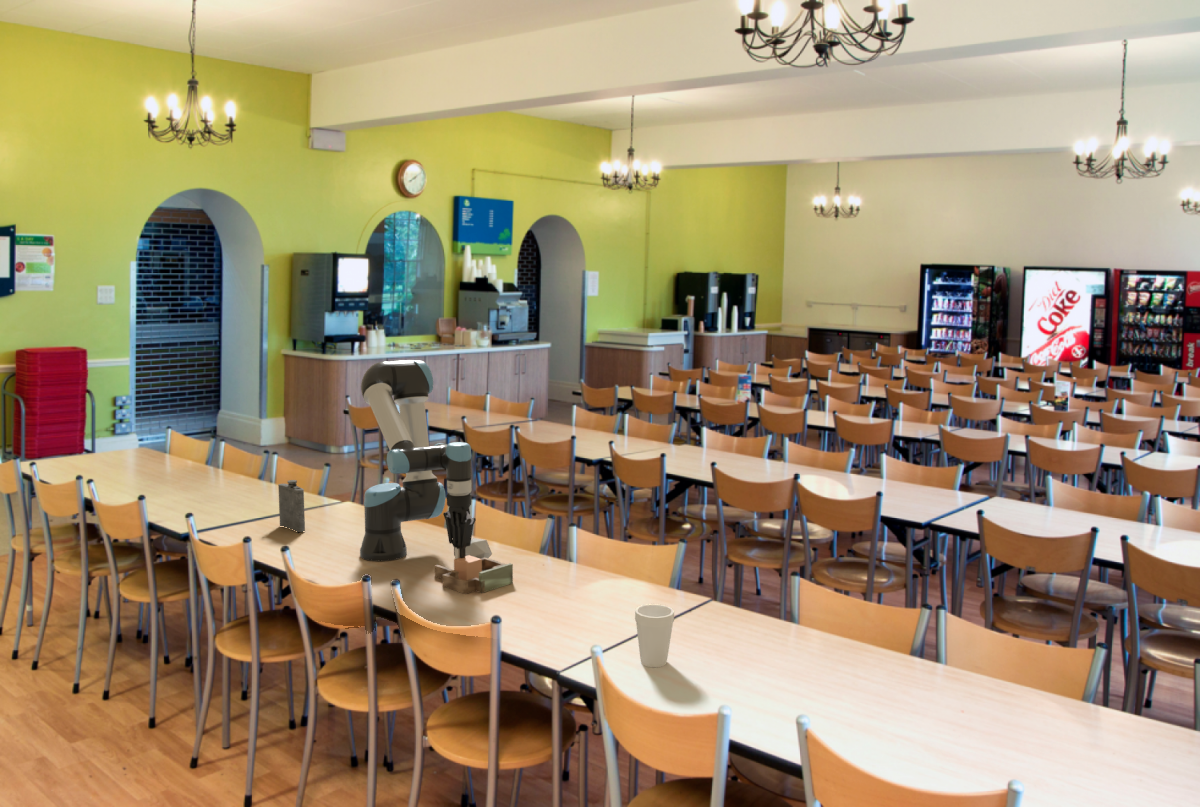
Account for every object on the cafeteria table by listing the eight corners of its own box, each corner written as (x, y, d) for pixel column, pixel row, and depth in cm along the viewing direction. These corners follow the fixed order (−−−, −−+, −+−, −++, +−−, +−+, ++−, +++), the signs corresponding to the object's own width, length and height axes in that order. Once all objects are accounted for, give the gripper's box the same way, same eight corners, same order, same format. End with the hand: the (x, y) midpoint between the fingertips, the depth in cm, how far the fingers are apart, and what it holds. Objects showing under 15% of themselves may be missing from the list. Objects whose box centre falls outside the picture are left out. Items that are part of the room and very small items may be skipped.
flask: (287, 524, 351) (285, 476, 348) (308, 531, 342) (307, 482, 339) (278, 526, 348) (276, 478, 346) (299, 533, 339) (297, 484, 336)
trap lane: (424, 579, 290) (424, 560, 289) (475, 564, 305) (475, 546, 304) (471, 596, 276) (471, 576, 275) (522, 580, 291) (522, 561, 290)
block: (454, 578, 292) (454, 559, 291) (469, 573, 296) (469, 555, 296) (466, 582, 288) (466, 563, 287) (481, 577, 292) (481, 559, 292)
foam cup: (632, 654, 235) (633, 604, 233) (669, 653, 236) (670, 603, 234) (637, 670, 226) (638, 618, 224) (675, 669, 226) (676, 617, 225)
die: (496, 563, 309) (487, 536, 313) (491, 557, 301) (482, 530, 305) (472, 572, 309) (464, 545, 312) (467, 567, 301) (458, 539, 304)
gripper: (436, 491, 293) (437, 565, 296) (463, 498, 284) (464, 574, 287) (455, 487, 298) (456, 560, 301) (482, 494, 289) (482, 569, 293)
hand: (459, 567), depth 294 cm, fingers closed
